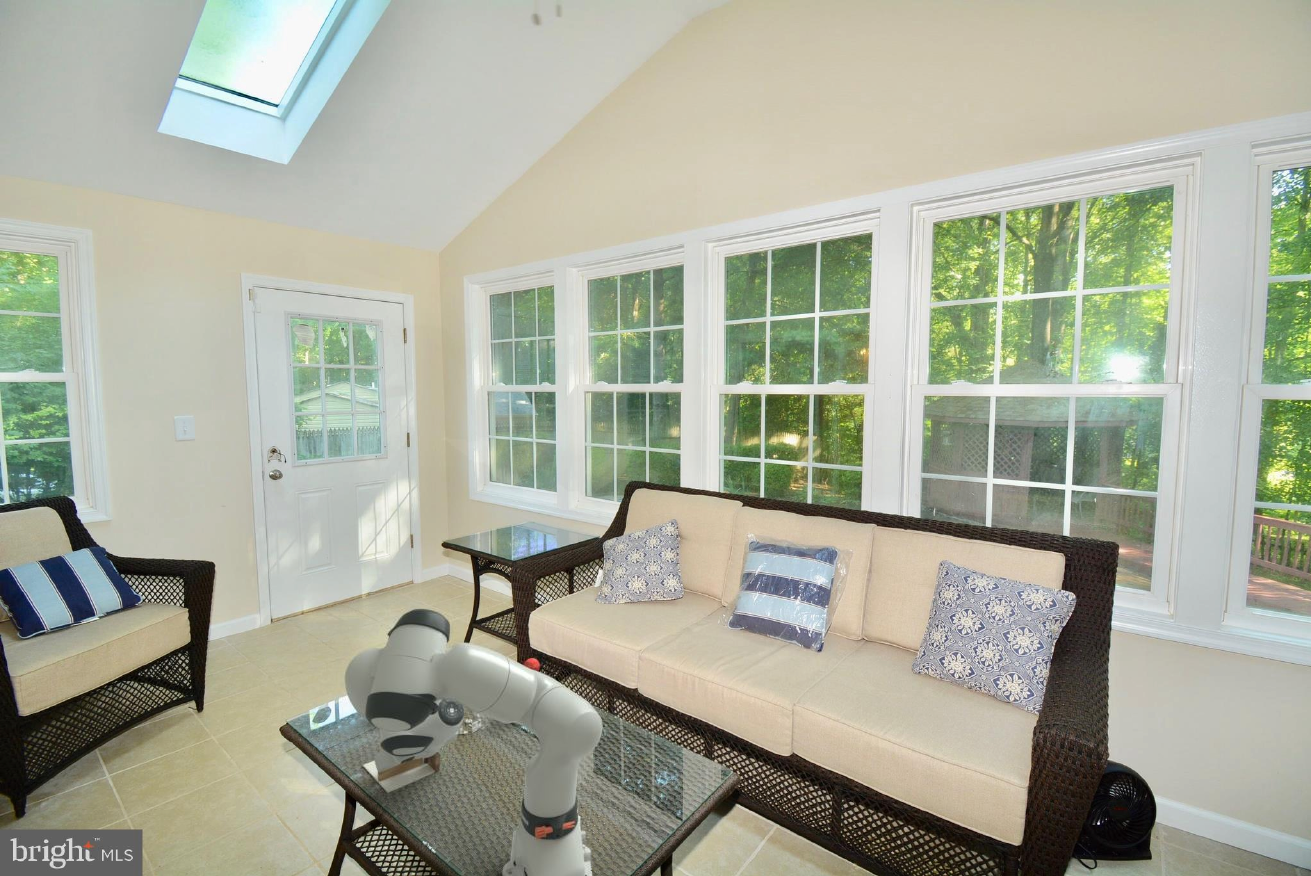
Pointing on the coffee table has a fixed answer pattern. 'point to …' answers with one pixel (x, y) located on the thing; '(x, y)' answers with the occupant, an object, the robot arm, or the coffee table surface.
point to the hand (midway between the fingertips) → (408, 757)
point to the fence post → (433, 762)
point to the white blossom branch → (472, 725)
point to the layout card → (399, 776)
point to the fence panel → (399, 768)
